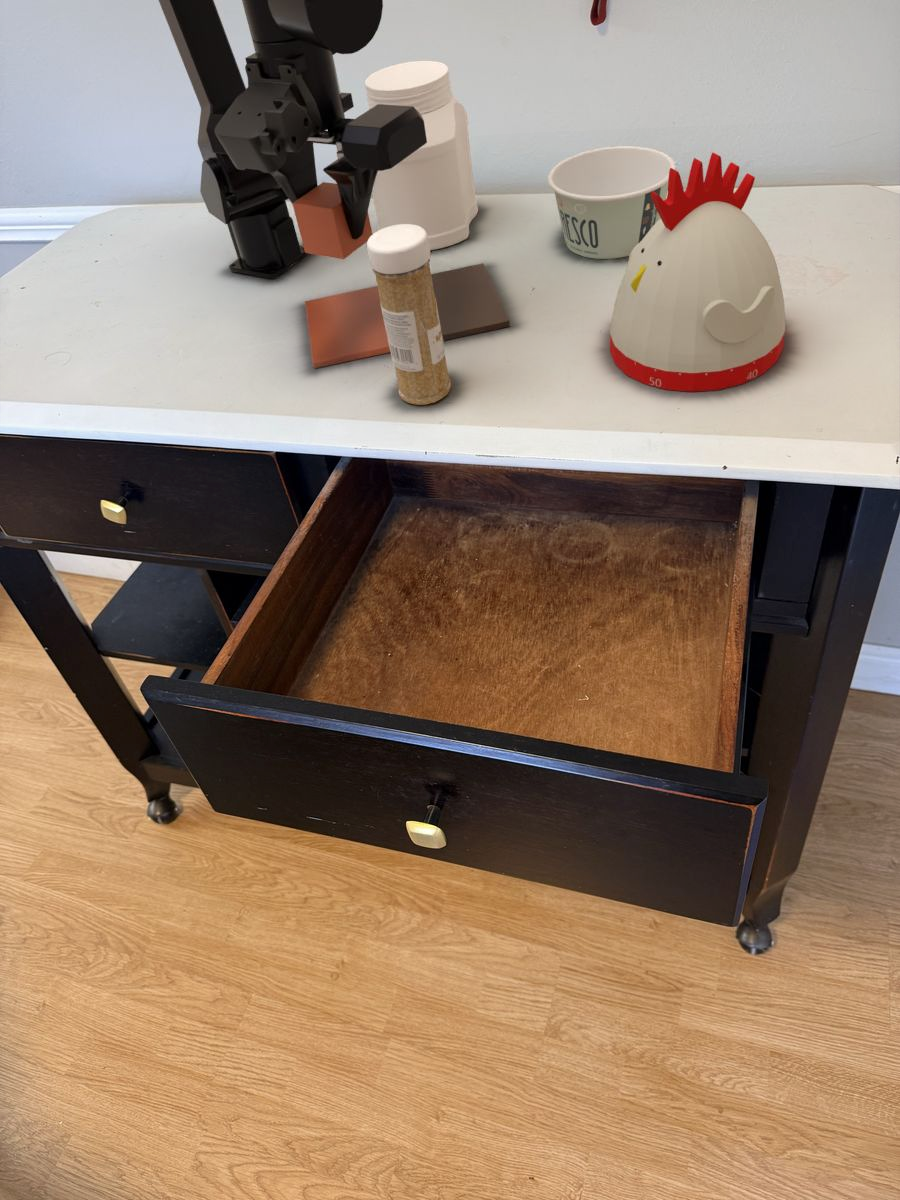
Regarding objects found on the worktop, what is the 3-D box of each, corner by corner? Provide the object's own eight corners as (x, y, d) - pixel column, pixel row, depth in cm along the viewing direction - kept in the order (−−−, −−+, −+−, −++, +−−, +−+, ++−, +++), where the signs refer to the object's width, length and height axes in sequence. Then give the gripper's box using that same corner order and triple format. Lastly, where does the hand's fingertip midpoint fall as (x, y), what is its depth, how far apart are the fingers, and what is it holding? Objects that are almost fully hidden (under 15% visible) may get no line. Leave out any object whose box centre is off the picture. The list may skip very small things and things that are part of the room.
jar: (399, 206, 103) (373, 60, 92) (482, 202, 101) (465, 51, 90) (375, 254, 95) (343, 100, 85) (463, 250, 93) (442, 91, 82)
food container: (696, 223, 90) (700, 155, 85) (628, 276, 85) (628, 206, 80) (596, 203, 96) (595, 138, 92) (527, 250, 91) (522, 184, 86)
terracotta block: (304, 253, 80) (291, 203, 76) (334, 231, 82) (323, 181, 79) (344, 259, 78) (332, 208, 74) (373, 236, 80) (363, 186, 77)
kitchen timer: (582, 332, 79) (576, 153, 68) (721, 286, 81) (736, 106, 70) (663, 411, 69) (671, 217, 59) (818, 357, 71) (853, 161, 61)
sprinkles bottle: (462, 391, 75) (438, 233, 65) (416, 414, 74) (385, 255, 64) (432, 370, 78) (406, 215, 68) (388, 391, 77) (354, 237, 67)
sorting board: (314, 368, 81) (312, 362, 80) (306, 306, 89) (304, 300, 89) (510, 326, 81) (509, 320, 81) (484, 268, 90) (483, 262, 89)
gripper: (128, 63, 68) (197, 262, 79) (321, 73, 59) (368, 294, 70) (225, 17, 74) (277, 207, 85) (413, 19, 65) (444, 231, 76)
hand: (336, 234), depth 79 cm, fingers closed on terracotta block, 4 cm apart
